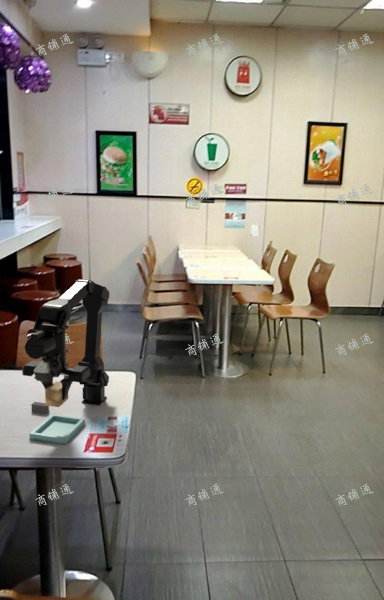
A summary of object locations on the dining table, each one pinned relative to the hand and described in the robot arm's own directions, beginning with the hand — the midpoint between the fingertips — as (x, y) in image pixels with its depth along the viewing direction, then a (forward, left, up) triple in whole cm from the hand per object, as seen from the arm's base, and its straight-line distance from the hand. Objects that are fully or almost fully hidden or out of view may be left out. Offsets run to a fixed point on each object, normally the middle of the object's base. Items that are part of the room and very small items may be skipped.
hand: (57, 398), depth 142 cm
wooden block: (0, 0, -1) cm, 1 cm away
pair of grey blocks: (+12, -15, -10) cm, 22 cm away
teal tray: (0, 0, -10) cm, 10 cm away
